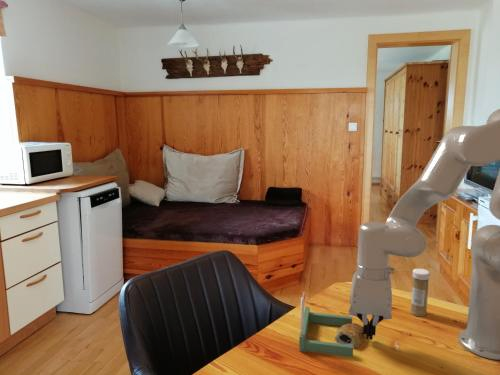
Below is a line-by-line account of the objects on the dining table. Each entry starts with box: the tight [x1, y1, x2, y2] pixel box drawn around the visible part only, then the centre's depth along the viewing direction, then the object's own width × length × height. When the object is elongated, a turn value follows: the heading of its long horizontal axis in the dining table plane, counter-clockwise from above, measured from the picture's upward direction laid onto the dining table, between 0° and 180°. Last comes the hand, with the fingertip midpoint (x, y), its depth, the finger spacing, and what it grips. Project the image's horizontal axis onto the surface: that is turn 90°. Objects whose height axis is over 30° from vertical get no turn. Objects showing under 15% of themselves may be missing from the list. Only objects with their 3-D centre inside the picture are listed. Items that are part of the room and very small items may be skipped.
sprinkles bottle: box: [410, 268, 430, 317], centre depth 115 cm, size 5×5×14 cm
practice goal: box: [298, 291, 354, 358], centre depth 104 cm, size 13×16×14 cm
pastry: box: [334, 322, 365, 348], centre depth 104 cm, size 9×7×4 cm
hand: (368, 336), depth 102 cm, fingers closed
